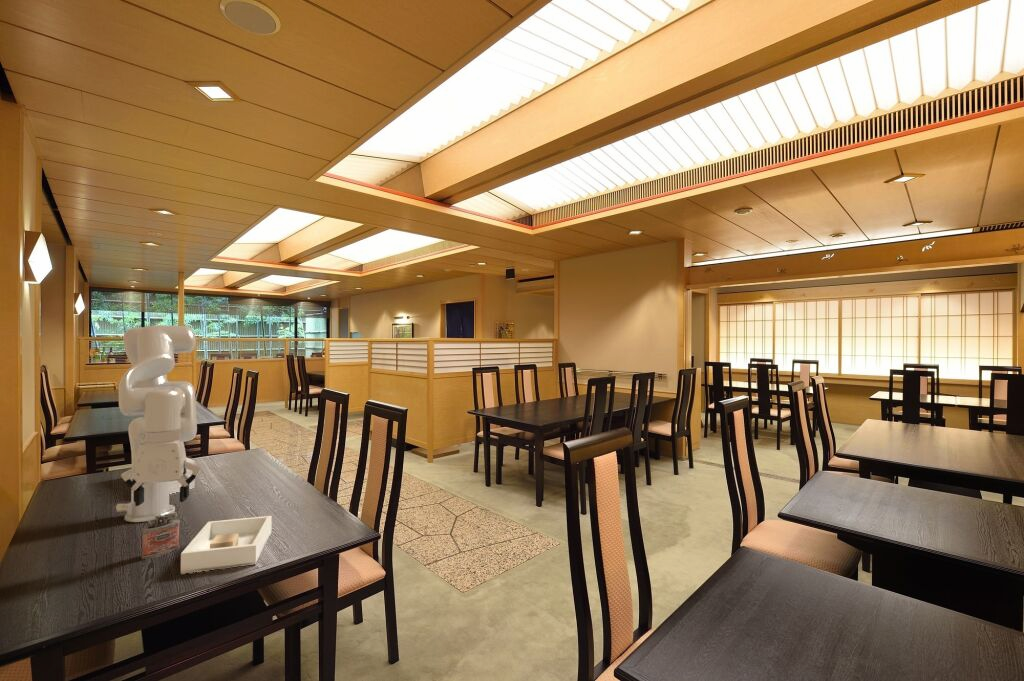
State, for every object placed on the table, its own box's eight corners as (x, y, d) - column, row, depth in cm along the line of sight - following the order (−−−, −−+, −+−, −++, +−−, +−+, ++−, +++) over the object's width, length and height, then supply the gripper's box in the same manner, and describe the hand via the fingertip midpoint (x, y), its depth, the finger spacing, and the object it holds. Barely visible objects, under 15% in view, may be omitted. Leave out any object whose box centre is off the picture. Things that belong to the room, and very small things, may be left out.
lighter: (143, 561, 116) (144, 521, 116) (139, 557, 118) (140, 518, 118) (181, 549, 122) (181, 512, 122) (176, 546, 124) (177, 509, 124)
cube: (209, 564, 113) (209, 543, 113) (216, 554, 118) (216, 535, 118) (232, 561, 115) (232, 541, 115) (238, 552, 119) (238, 533, 119)
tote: (180, 574, 110) (180, 553, 110) (208, 539, 129) (208, 521, 129) (255, 565, 114) (255, 545, 114) (271, 532, 133) (271, 515, 133)
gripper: (114, 441, 114) (114, 510, 114) (195, 437, 119) (195, 503, 119) (129, 436, 121) (129, 501, 121) (205, 432, 126) (204, 494, 126)
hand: (161, 502), depth 120 cm, fingers open, 9 cm apart
